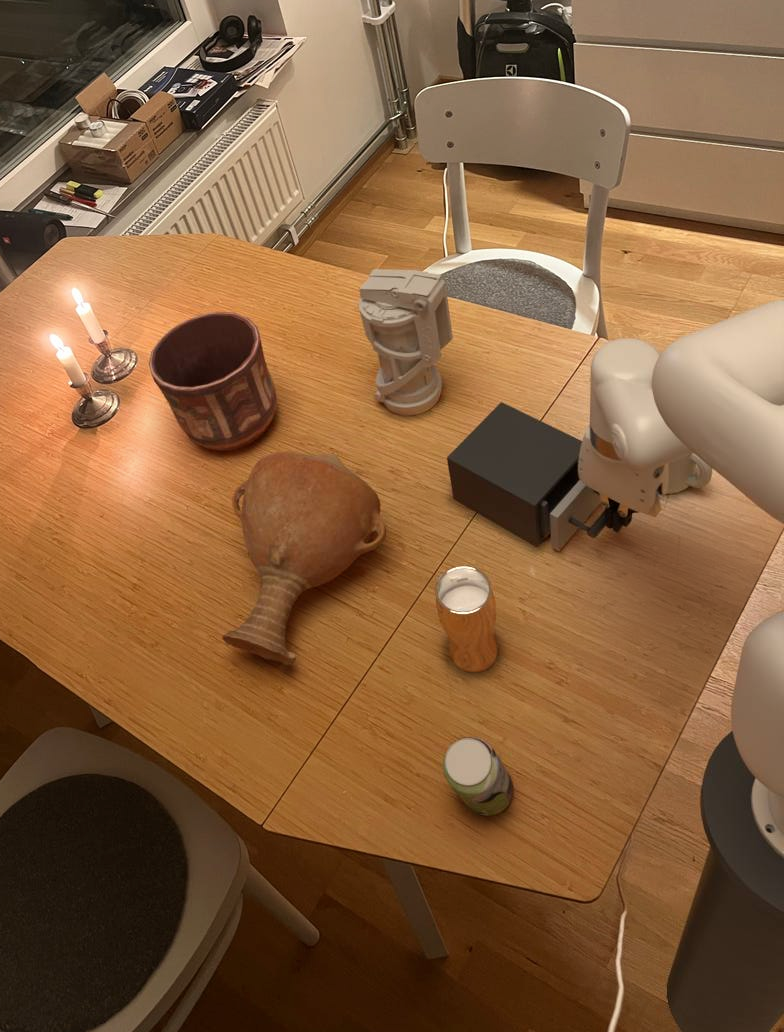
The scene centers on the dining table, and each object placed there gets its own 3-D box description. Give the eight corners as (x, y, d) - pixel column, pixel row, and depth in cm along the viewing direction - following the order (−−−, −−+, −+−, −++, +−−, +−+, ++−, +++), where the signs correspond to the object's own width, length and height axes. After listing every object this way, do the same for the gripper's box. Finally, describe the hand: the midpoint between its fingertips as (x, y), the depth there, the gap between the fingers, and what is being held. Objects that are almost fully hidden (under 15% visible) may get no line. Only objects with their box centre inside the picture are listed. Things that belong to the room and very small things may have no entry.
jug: (419, 464, 124) (352, 671, 110) (364, 505, 141) (300, 690, 127) (291, 398, 121) (204, 601, 107) (249, 448, 138) (170, 630, 124)
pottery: (251, 477, 146) (219, 401, 133) (165, 450, 154) (127, 375, 141) (304, 400, 155) (279, 321, 141) (221, 378, 163) (190, 301, 150)
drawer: (633, 510, 125) (635, 475, 119) (585, 567, 121) (586, 533, 115) (525, 454, 135) (522, 420, 130) (478, 505, 131) (473, 471, 126)
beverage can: (524, 787, 105) (519, 745, 96) (486, 839, 102) (477, 800, 94) (479, 754, 109) (470, 710, 100) (441, 803, 106) (429, 762, 97)
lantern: (369, 408, 150) (340, 292, 132) (398, 365, 155) (374, 248, 137) (440, 428, 144) (420, 309, 126) (468, 383, 149) (453, 262, 131)
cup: (659, 447, 132) (664, 405, 126) (723, 482, 126) (731, 440, 120) (628, 477, 130) (631, 436, 123) (691, 514, 124) (697, 473, 117)
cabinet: (589, 487, 130) (589, 444, 123) (537, 547, 126) (534, 505, 119) (504, 444, 139) (501, 401, 132) (453, 499, 134) (446, 457, 127)
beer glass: (437, 641, 120) (423, 579, 109) (484, 618, 120) (474, 554, 109) (462, 684, 115) (450, 625, 104) (511, 660, 116) (504, 598, 105)
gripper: (701, 438, 103) (687, 531, 116) (585, 386, 112) (584, 478, 125) (665, 481, 100) (655, 571, 114) (549, 424, 109) (552, 515, 122)
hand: (618, 522), depth 119 cm, fingers closed
